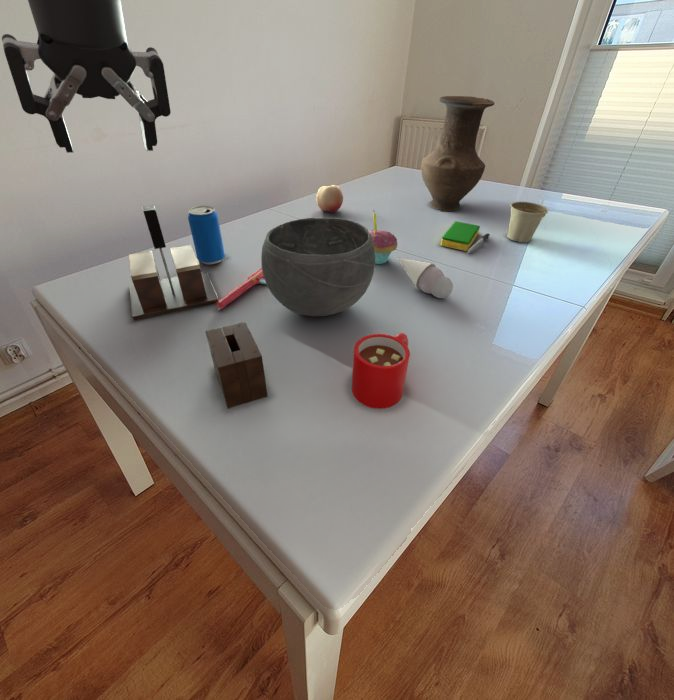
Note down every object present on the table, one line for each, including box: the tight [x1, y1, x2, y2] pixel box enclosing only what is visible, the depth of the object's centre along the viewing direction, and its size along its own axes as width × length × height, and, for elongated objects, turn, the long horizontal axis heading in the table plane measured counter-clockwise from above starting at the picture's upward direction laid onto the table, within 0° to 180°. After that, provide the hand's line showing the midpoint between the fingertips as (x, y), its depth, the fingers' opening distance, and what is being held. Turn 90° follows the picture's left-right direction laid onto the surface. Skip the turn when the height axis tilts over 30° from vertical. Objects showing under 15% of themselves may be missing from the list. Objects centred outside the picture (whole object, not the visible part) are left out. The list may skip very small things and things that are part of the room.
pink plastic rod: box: [216, 267, 267, 311], centre depth 82 cm, size 24×2×5 cm
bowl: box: [260, 217, 376, 317], centre depth 72 cm, size 21×21×15 cm
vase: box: [420, 95, 495, 212], centre depth 116 cm, size 19×19×30 cm
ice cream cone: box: [397, 257, 454, 299], centre depth 81 cm, size 6×6×15 cm
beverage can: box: [187, 205, 226, 265], centre depth 88 cm, size 6×6×12 cm
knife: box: [467, 233, 490, 254], centre depth 99 cm, size 15×1×2 cm, turn 143°
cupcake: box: [369, 209, 398, 265], centre depth 90 cm, size 9×8×12 cm
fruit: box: [315, 184, 344, 213], centre depth 117 cm, size 8×8×8 cm
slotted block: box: [128, 244, 220, 322], centre depth 76 cm, size 16×13×8 cm
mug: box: [351, 332, 411, 410], centre depth 57 cm, size 8×12×8 cm, turn 146°
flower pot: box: [506, 201, 550, 243], centre depth 103 cm, size 9×9×9 cm
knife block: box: [205, 321, 268, 410], centre depth 56 cm, size 6×9×8 cm, turn 25°
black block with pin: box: [142, 205, 175, 295], centre depth 72 cm, size 2×3×17 cm, turn 25°
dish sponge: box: [440, 221, 481, 252], centre depth 103 cm, size 7×14×2 cm, turn 152°
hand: (110, 148), depth 46 cm, fingers open, 8 cm apart
